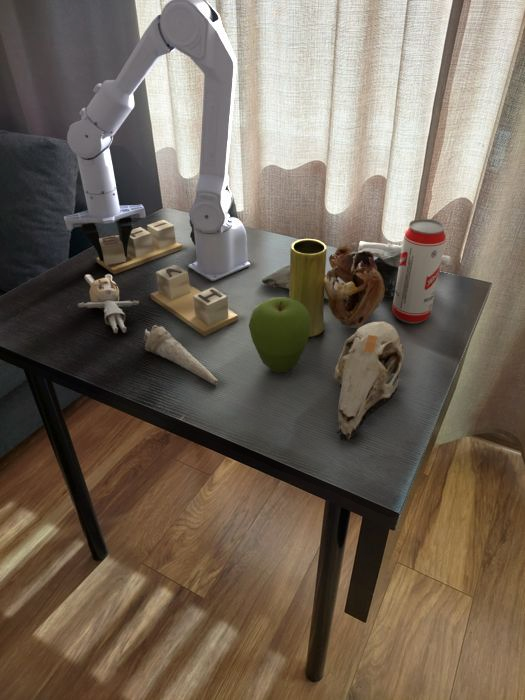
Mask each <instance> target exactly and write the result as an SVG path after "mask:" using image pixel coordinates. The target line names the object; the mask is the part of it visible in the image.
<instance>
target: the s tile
mask: <svg viewBox="0 0 525 700" xmlns="http://www.w3.org/2000/svg"><path fill="white" fill-rule="evenodd" d="M99 240H100V246H101V250H102V253H103V259H104V263H105V265H111V264H116V263H121V262H126V260H125V254H124V249H123V243H122V241H121V239H120V237H119V234H116V235H111V236H106V237H105V236H104V237H99Z"/></svg>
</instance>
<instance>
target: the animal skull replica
mask: <svg viewBox="0 0 525 700" xmlns="http://www.w3.org/2000/svg"><path fill="white" fill-rule="evenodd" d="M403 362H404V346H403V343H402V342H401V339H400V335H399V332H398V331H397V329H396V328H395V326H394V325H393V324H391V323H389V322H387V321H384V320H382V321H372V322H368V323H366V324H363V325H362V326H361V327H359V328H357V329H356V331H355V333H354V334H352V335H351V336H349V337H348V338H347V339H346V340H345V342H344V343H343V347H342V350H341V353H340V355H339V357H338V361H337V363H336V366H335V368H334V374H333V377H334V379H335V380H336V381H337V383H339V387H340V392H339V393H340V394H339V399H338V409H337V410H338V431H337V432H336V434H338V435H339V437H340V440H346V441H349V440H350V438H353V439H356V437H357V436H358V435H359V428H360V426H362V425H363V423H364V421H365V420H366V419H367V418H368V417H369V416H370V415H371V414H372V413H374V412H375V411H376V410H377V409H379V407H380V406H381V405H382V403H386V402H387V401H388V400H390V399H392V397H393V396H395V393H396V392H397V390H398V385H399V380H400V374H401V372H402V369H401V368H402V365H403Z"/></svg>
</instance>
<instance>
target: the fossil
mask: <svg viewBox="0 0 525 700" xmlns="http://www.w3.org/2000/svg"><path fill="white" fill-rule="evenodd" d="M326 276H327V273H325V279H326ZM261 282H262V284H264V285H267V286H269V287H270V288H274V287H276V288H284V289H288V290H289V284H290V264H288V265H285V266H283V267H280V268H279V269H277V270H275V271H273V272H271V273H270V274H267V275H266V276H264V277H263V278H262V279H261ZM347 298H348V297H344V299H346V300H348V299H347ZM324 299H325V300H328V295H327V293H326V291H325V286H324Z"/></svg>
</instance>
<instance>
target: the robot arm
mask: <svg viewBox="0 0 525 700" xmlns="http://www.w3.org/2000/svg"><path fill="white" fill-rule="evenodd" d="M175 50H177V51H179V52H180V53H182V54H184V55H186V56H187V57H189V58H190V59H191V60H192V62H193V63H194V64H195V65H196V66H197V68H199V69H200V71H201V72H202V73H203V75H204V77H203V78H204V79H203V95H202V96H203V97H202V116H201V136H200V137H201V138H200V153H199V173H198V174H199V176H198V179H197V183H196V189H195V197H194V201H193V203H192V204H191V206H190V208H189V215H188V216H189V221H190V220H191V222H192V224H193V225H194V235H195V245H196V246H195V245H194V246H195V253H196V254H195V255H196V261H195V262H192V263H190V264H188V268H189V269H191V270H193V271H194V272H196V273H197V274H199V275H201V276H202V277H204V278H205V279H207V280H209V281H211V282H215V281H217V280H219V279H222V278H224V277H226V276H229V275H231V274H234V273H236V272H239V271H240V270H242V269H245V268H247V267H250V266H251V263H250V262H249V261H248V242H247V241H248V240H247V232H246V229H245V226H244V224H243V223H242V222H241V220H240V219H239V218H238V219H237V218H231V217H230V215H229V214H228V210H229V208H230V207H231V204H232V196H233V194H232V191H231V189H230V176H229V173H228V172H229V160H230V159H229V158H230V147H231V135H232V125H233V113H234V112H233V111H234V101H235V89H236V76H237V67H238V66H237V57H236V55H235V52H234V50H233V48H232V45H231V43H230V41H229V38H228V36H227V34H226V32H225V28H224V27H223V24H222V19H221V16H220V14H219V13H218V12H217V10H216V9H215V8H214V7H213V6H212V5H211V4H210V3H209V1H207V0H170V1H168V2H167V3H166V4H165V5H164V7H163V8H162V11H161V13H160V14H158V15H157V16H155V18H154V19H153V20H152V21H151V23H150V24H149V25H148V27H147V28H146V30H144V32H143V34H142V35H141V37H140V38H139V41H138V42H137V44H136V45H135V47H134V49H133V50H132V52H131V54H130V55H129V57H128V58H127V60H126V62H125V64H124V65H123V67H122V69H121V70H120V72H119V73H118V75H117V76H116V79H106V80H104V81H103V82H102V83H100V82H99V83H97V84H96V85H95V86H94V87H93V90H92V92H94V93H95V94H94V96H93V97H92V99H90V102H89V103H88V105H87V107H83V108H81V110H80V111H79V116H81V119H80V120H78V121H75V122H72V124H70V125H69V129H68V131H67V134H66V141H67V145H68V146H69V148H70V150H71V151H72V152H73V154H75V155H76V160H77V165H78V168H79V175H80V179H81V183H82V188H83V193H84V197H85V202H86V206H87V210H84V211H81V212H77V213H74V214H73V213H72V214H69V215H65V216H63V219H64V223H65V228H66V230H67V231H71V230H73V229H74V228H80V227H81V229H82V231H83V233H84V235H85V237H87V239H88V240H89V242H90V243H91V244H92V246H93V247H94V249H95V251H96V253H97V255H98V256H97V257H99V259H100V261H104V259H103V253H102V250H101V246H100V240H99V238H100V235H99V231H98V228H97V225H98V224H99V225H100V224H104V225H107V224H114V223H115V222H116V226H117V230H118V231H117V232H118V235H119V237H120V239H121V241H122V243H123V249H124V254H125V257H126V256H127V248H128V241H129V237H130V234H131V231H132V230H133V229H134V222H133V220H132V219H135V218H140V219H144V218H146V211H145V207H144V205H143V204H132V205H120V201H119V195H118V191H117V185H116V183H117V182H116V178H115V173H114V166H113V162H112V155H111V150H110V146H111V145H112V143H113V140H114V135H116V133H117V132H118V130H119V129H120V128H121V126H122V125H123V123H124V122H125V120H126V119H127V118H128V117H129V115H130V114H131V112H132V111H133V109H134V108H135V98H134V93H135V91H136V90H137V89H138V87H139V86H140V85H141V83H142V82H143V81H144V80H145V79H146V78H147V76H148V74H149V73H150V72H151V70H152V69H153V68H154V66H155V65H156V64H157V63H158V61H159V60H160V58H162V56H166V55H167V54H170V53H171V52H174V51H175Z"/></svg>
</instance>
